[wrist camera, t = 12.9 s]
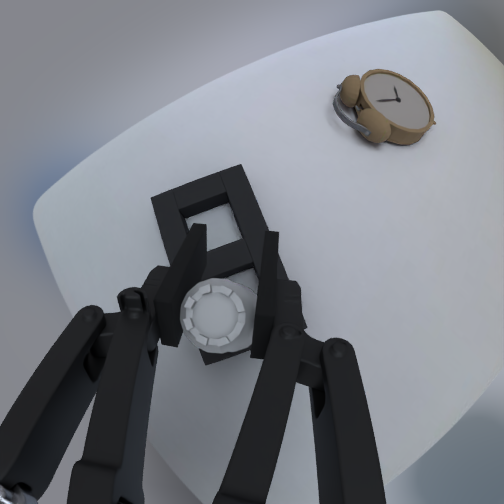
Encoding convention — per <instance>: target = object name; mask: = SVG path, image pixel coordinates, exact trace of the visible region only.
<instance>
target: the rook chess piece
mask: <svg viewBox="0 0 504 504" xmlns="http://www.w3.org/2000/svg"><path fill="white" fill-rule="evenodd" d="M256 301H257V295H256V294H255V293H254V292H253V291H252V290H251V289H249V288H247V287H245V286H243V285H241V284H239V283H234V282H232V281H230V280H228V279H217V278H211V279H208V280H205V281H202V282H199V283H198V284H196V285H195V286H194V287H193V288H192V289H191V290H190V291H188V292H187V294H186V296H185V298H184V300H183V302H182V304H181V310H180V322H181V325H182V328H183V331H184V334H185V335H186V337H187V338H188V339H189V340H190V341H191V342H192V344H193V345H194V346H196V347H198V348H200V349H202V350H204V351H206V352H211V353H225V352H235V351H238V350H241V349H244V348H247V347H249V346H250V345H251V344H252V336H253V327H254V318H255V309H256Z"/></svg>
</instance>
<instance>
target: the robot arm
mask: <svg viewBox="0 0 504 504" xmlns="http://www.w3.org/2000/svg"><path fill="white" fill-rule="evenodd" d="M278 242H279V232H275V231H266V230H265V236H264V244H263V253H262V261H261V269H260V277H259V285H258V293H257V301H256V309H255V318H254V327H253V336H252V346H251V355H250V358H256V359H264V360H263V363H262V367H261V370H260V373H259V376H258V379H257V382H256V385H255V388H254V391H253V394H252V398H251V401H250V404H249V407H248V410H247V413H246V416H245V419H244V421H243V424H242V427H241V430H240V433H239V436H238V439H237V442H236V445H235V448H234V450H233V453H232V456H231V459H230V462H229V464H228V467H227V470H226V473H225V475H224V478H223V481H222V484H221V486H220V489H219V491H218V492H217V494H216V496H215V498H214V500H213V503H212V504H265V503H266V499H267V495H268V492H269V488H270V485H271V481H272V478H273V474H274V471H275V467H276V463H277V459H278V456H279V452H280V448H281V444H282V440H283V436H284V432H285V428H286V424H287V420H288V415H289V411H290V407H291V402H292V398H293V394H294V389H295V384H296V382H297V383H300V384H303V385H306V386H309V393H310V403H311V412H312V422H313V432H314V442H315V453H316V465H317V477H318V490H319V504H386V499H385V492H384V486H383V480H382V474H381V468H380V463H379V457H378V452H377V447H376V442H375V437H374V432H373V427H372V422H371V418H370V413H369V409H368V404H367V400H366V395H365V391H364V387H363V383H362V379H361V375H360V370H359V366H358V363H357V359H356V355H355V351H354V348H353V346H352V345H351V344H350V343H349V342H348V341H346V340H344V339H341V338H330V339H328V340H327V341H325V343H324V342H321V341H318V340H316V339H313V338H311V337H310V336H309V335H307V333H306V332H305V331H304V329H303V326H302V303H301V288H300V286H299V285H298V283H297V281H291V280H282V279H277V265H278ZM206 265H207V229H206V224H197V223H193V225H192V227H191V228H190V230H189V232H188V234H187V236H186V238H185V239H184V241H183V243H182V245H181V247H180V249H179V251H178V253H177V254H176V256H175V258H174V260H173V262H172V264H171V266H170V267H165V266H157V267H155V268H154V269H153V270H151V271H150V273H149V275H148V277H147V279H146V280H145V282H144V285H142V287H141V288H137V287H132V288H127V289H124V290H123V291H121V292H120V293H119V294H118V296H117V299H118V303H119V307H120V310H121V312H117V313H104V312H103V310H102V309H101V308H100V307H98V306H95V305H90V306H86V307H84V308H82V309H81V310H80V311H78V313H77V314H76V315H75V316H74V318H73V319H72V320H71V322H70V323H69V324H68V326H67V327H66V328H65V330H64V331H63V332H62V334H61V335H60V337H59V338H58V339H57V341H56V342H55V343H54V345H53V346H52V347H51V349H50V350H49V352H48V353H47V354H46V356H45V357H44V359H43V360H42V362H41V363H40V364H39V366H38V367H37V369H36V370H35V372H34V373H33V375H32V376H31V378H30V379H29V381H28V382H27V384H26V386H25V387H24V388H23V390H22V391H21V393H20V395H19V396H18V398H17V399H16V401H15V403H14V404H13V406H12V407H11V409H10V411H9V412H8V414H7V416H6V417H5V419H4V421H3V422H2V424H1V426H0V504H38V502H37V501H38V500H39V499H40V497H41V496H42V495H43V494H44V492H45V491H46V489H47V488H48V486H49V484H50V482H51V480H52V479H53V476H54V474H55V472H56V470H57V468H58V466H59V464H60V462H61V460H62V458H63V455H64V453H65V451H66V449H67V447H68V445H69V443H70V441H71V439H72V437H73V435H74V433H75V431H76V429H77V428H78V426H79V424H80V422H81V420H82V418H83V416H84V414H85V412H86V410H87V408H88V407H89V405H90V403H91V401H92V399H93V397H94V395H95V394H96V397H95V402H94V405H93V410H92V414H91V418H90V422H89V427H88V432H87V436H86V441H85V446H84V451H83V456H82V458H81V460H79V461H77V462H76V463H75V464H74V466H73V469H72V473H71V478H70V485H69V491H68V498H67V504H144V493H143V489H142V479H143V467H144V457H145V447H146V437H147V428H148V420H149V412H150V405H151V397H152V390H153V383H154V376H155V370H156V364H157V357H158V346H157V343H158V341H159V338H160V339H161V344H162V345H167V346H173V347H178V344H179V341H180V339H181V336H182V333H183V328H182V325H181V322H180V310H181V304H182V302H183V300H184V298H185V296H186V294H187V292H188V291H190V290H191V289H192V288H193V287H194V286H195V285H196V284H198V283H199V282H201V279H202V276H203V274H204V271H205V268H206ZM96 392H97V393H96Z"/></svg>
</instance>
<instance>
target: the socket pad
mask: <svg viewBox="0 0 504 504" xmlns="http://www.w3.org/2000/svg"><path fill="white" fill-rule="evenodd" d="M151 201H152V204H153V208H154V212H155V215H156V219H157V223H158V226H159V230H160V233H161V236H162V240H163V243H164V247H165V250H166V253H167V256H168V260H169V263H170V266H171V264H172V262H173V260H174V258H175V256H176V254H177V253H178V251H179V249H180V247H181V245H182V243H183V241H184V239H185V238H186V236H187V234H188V232H189V230H188V227H187V224H186V221H185V218H188V217H190V216H193V215H196V214H198V213H201V212H204V211H206V210H209V209H212V208H214V207H217V206H220V205H222V204H225V203H228V202H229V203H230V206H231V209H232V211H233V214H234V217H235V219H236V222H237V224H238V227H239V230H240V232H241V235H242V237H243V239H240V240H237V241H235V242H232V243H229V244H226V245H224V246H221V247H218V248H216V249H213V250H210V251H208V252H207V265H206V268H205V271H204V274H203V276H202V279H201V282H202V281H205V280H208V279H211V278H217V279H222V278H225V277H228V276H230V275H233V274H236V273H238V272H241V271H244V270H247V269H249V268H252V267H253V266H254V269H255V271H256V274H257V277H258V279H259V277H260V269H261V261H262V253H263V244H264V236H265V230H266V231H269V229H268V227H267V225H266V222H265V220H264V217H263V215H262V212H261V210H260V208H259V205H258V203H257V200H256V198H255V195H254V193H253V191H252V188H251V186H250V183H249V181H248V179H247V176H246V174H245V172H244V169H243V167H242V165H241V164H240V165H237V166H234V167H231V168H228V169H225V170H222V171H219V172H217V173H214V174H211V175H208V176H206V177H203V178H200V179H197V180H195V181H192V182H189V183H187V184H184V185H182V186H179V187H176V188H174V189H173V190H172V189H171V190H169V191H166V192H164V193H161V194H159V195H156V196H154V197H151ZM277 279H282V280H289V279H288V277H287V274H286V272H285V269H284V267H283V264H282V262H281V259H280V257H279V254H278V265H277ZM302 326H303V329H306V328H307V325H306V322H305V320H304V317H303V315H302ZM251 346H252V344H251V345H250V346H249V347H247V348H244V349H241V350H238V351H235V352H225V353H211V352H206V351H204V350H202V349H200V348H199V350H200V353H201V355H202V358H203V361H204V363H205V365H209V364H212V363H215V362H218V361H221V360H224V359H226V358H229V357H232V356H235V355H238V354H241V353H244V352H246V351H249V350H251Z"/></svg>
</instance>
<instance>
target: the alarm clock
mask: <svg viewBox="0 0 504 504" xmlns="http://www.w3.org/2000/svg"><path fill="white" fill-rule="evenodd" d="M337 88H338V89H339V91H338V92H337V94H336V96H335V98H334V101H333V106H334V109H335V112H336V114H337V115H338V116H339V118H340V119H341V120H342V121H343V122H344V123H345V124H347V125H348V126H350V127H352V128H354V129H357V130H359V131H360V133H361V135H362V136H363V137H364V138H366V139H367V140H368V141H371V142H373V143H381V142H384V141H386V140H387V141H390V142H393V143H397V144H403V145H410V144H413V143H415V142H418V141H419V140H420V138H421V137H422V136H423V135H424V133H425V132H426V131H428V130H429V128H430V127H431V126H432V125H433V124H434V125H435V124H436V122H435V121H434V113H433V108H432V106H431V104H430V102H429V100H428V98H427V97H426V95H425V94H424V93H423V92H422V91H421V89H420V88H419V87H417V86H416V85H415V84H414V83H413V82H411V81H410V80H409V79H407V78H405V77H403V76H402V75H400V74H398V73H395V72H392V71H389V70H382V69H375V70H369V71H368V72H367V73H365V74H364V75H363V76H362V78H361V81H360V77H359V76H358V75H350V76H348V77H346V78H345V79H344V81H343V82H342V83H341V85H337ZM339 94H340V98H341V100H342V102H343V104H344V105H346V106H347V107H350V108H353V107H355V109H356V112H357V114H358V118H357V123H356V122H354V121H352V120H351V119H349V118H348V117H347V116H346V115H345V114H344V113H343V112H342V110H341V109H340V107H339V105H338V101H337V97H338V96H339Z"/></svg>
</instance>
